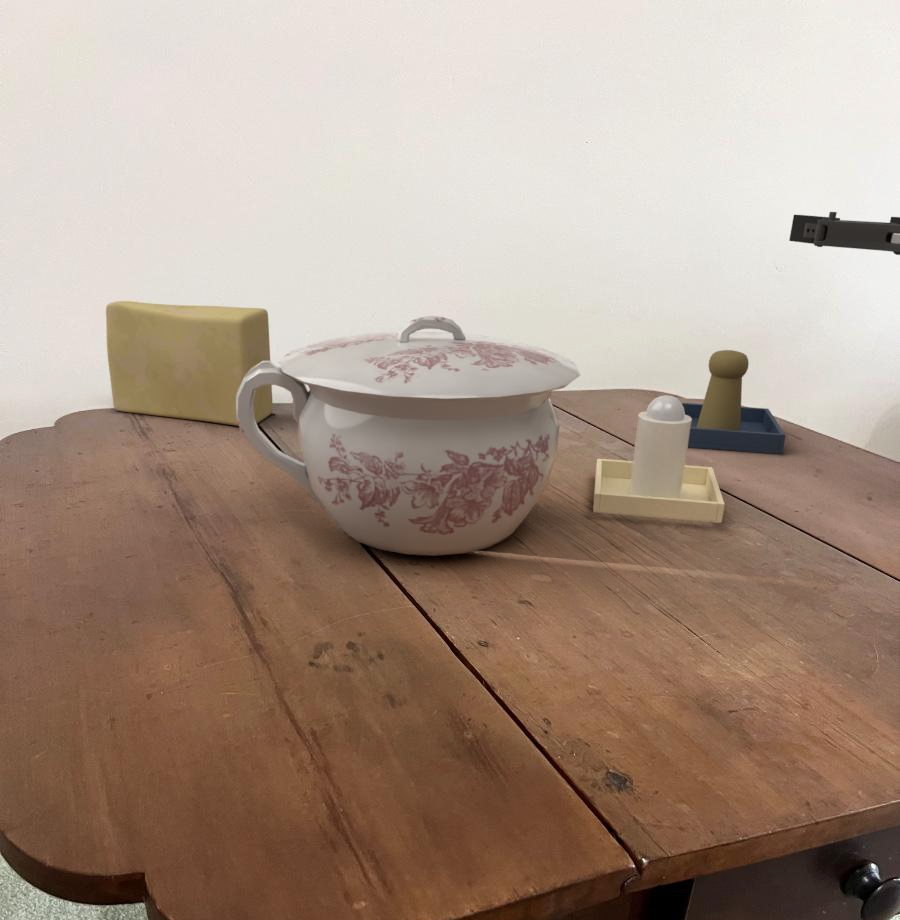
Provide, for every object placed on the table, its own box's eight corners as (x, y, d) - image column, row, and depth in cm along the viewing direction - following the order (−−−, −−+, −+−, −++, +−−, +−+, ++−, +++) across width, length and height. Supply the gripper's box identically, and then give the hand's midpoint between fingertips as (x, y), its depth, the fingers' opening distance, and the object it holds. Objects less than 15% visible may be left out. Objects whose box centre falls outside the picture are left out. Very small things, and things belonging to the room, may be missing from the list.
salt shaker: (678, 491, 104) (692, 392, 99) (681, 507, 99) (697, 403, 94) (628, 487, 104) (640, 388, 100) (629, 503, 99) (641, 399, 94)
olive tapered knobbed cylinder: (709, 437, 125) (722, 355, 121) (688, 426, 131) (699, 347, 126) (748, 435, 127) (762, 354, 122) (725, 424, 132) (738, 346, 127)
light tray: (709, 488, 107) (712, 467, 106) (720, 527, 95) (724, 504, 94) (594, 479, 108) (597, 458, 107) (592, 517, 97) (594, 493, 96)
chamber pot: (611, 523, 95) (634, 315, 86) (470, 617, 74) (482, 356, 65) (393, 472, 109) (394, 288, 100) (222, 539, 88) (204, 314, 79)
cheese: (98, 418, 127) (83, 304, 120) (132, 402, 135) (119, 296, 129) (250, 430, 123) (243, 314, 117) (275, 413, 132) (270, 305, 126)
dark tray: (765, 426, 135) (768, 408, 134) (782, 454, 121) (785, 435, 120) (660, 418, 137) (662, 401, 136) (665, 445, 123) (667, 426, 122)
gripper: (887, 286, 84) (745, 263, 102) (1084, 285, 92) (920, 263, 110) (907, 197, 81) (757, 189, 99) (1109, 203, 89) (937, 195, 107)
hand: (843, 228), depth 104 cm, fingers open, 13 cm apart
